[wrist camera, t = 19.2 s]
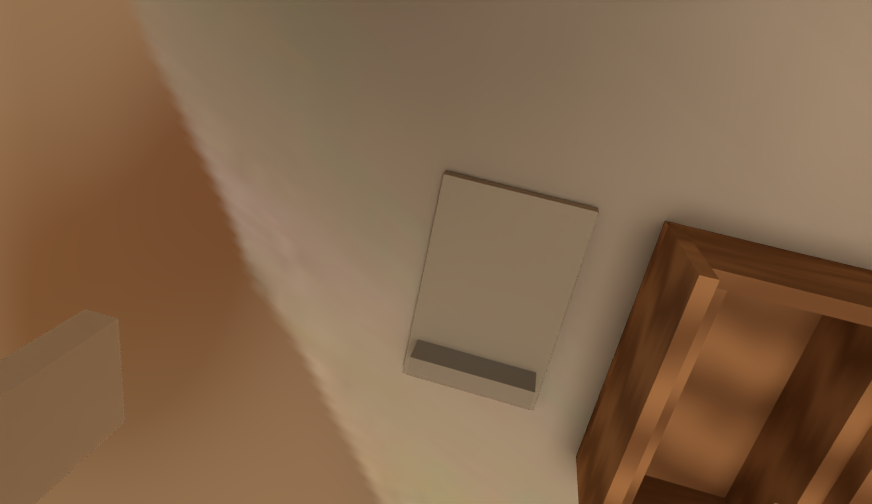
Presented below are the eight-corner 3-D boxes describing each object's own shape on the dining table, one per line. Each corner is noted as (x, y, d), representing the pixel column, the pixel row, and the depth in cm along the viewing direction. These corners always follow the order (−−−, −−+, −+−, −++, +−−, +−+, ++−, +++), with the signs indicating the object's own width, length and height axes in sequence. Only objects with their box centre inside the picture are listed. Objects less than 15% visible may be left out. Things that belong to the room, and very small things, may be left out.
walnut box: (665, 221, 36) (699, 274, 27) (876, 272, 34) (979, 345, 26) (576, 457, 43) (581, 554, 35) (745, 506, 42) (793, 620, 34)
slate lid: (447, 169, 38) (436, 182, 34) (596, 205, 37) (602, 224, 33) (406, 362, 44) (393, 391, 40) (533, 398, 43) (531, 432, 39)
